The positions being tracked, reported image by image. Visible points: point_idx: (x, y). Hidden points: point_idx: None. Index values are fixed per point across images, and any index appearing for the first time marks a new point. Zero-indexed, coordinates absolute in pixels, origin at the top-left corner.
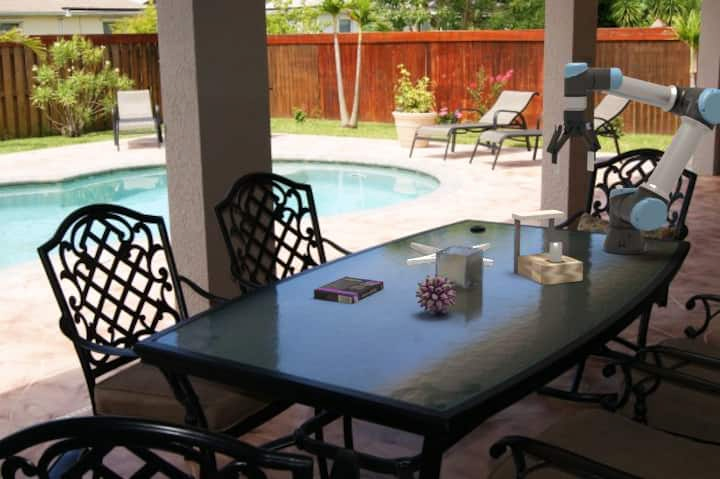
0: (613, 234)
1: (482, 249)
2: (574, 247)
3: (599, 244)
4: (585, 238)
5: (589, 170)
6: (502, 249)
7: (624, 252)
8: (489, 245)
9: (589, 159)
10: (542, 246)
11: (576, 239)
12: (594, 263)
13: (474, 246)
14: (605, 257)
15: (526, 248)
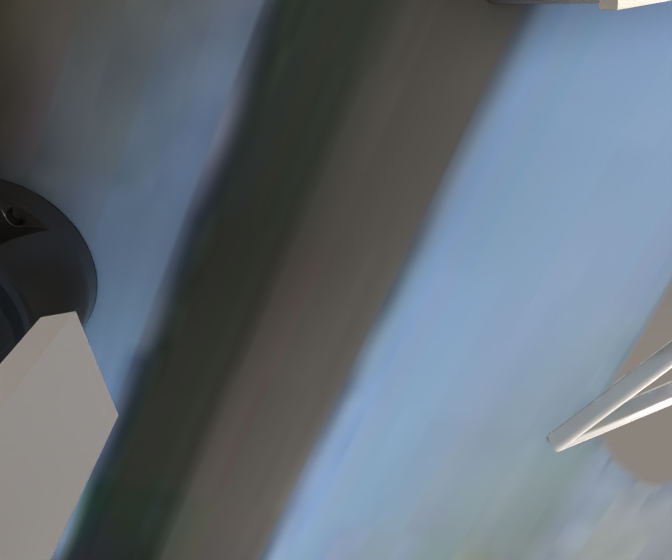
0: (27, 280)
1: (612, 394)
2: (207, 374)
3: None
4: (106, 503)
5: (97, 366)
6: (514, 404)
7: (17, 189)
8: (558, 439)
9: (22, 507)
10: (333, 417)
11: (148, 495)
12: (233, 41)
13: (646, 411)
14: (133, 156)
15: (412, 400)
